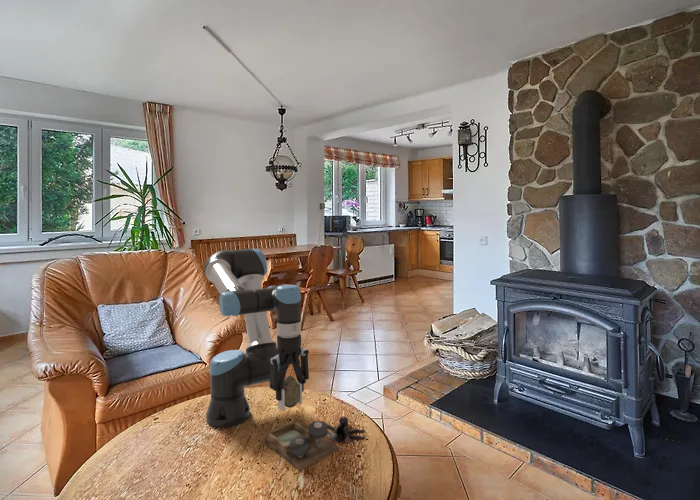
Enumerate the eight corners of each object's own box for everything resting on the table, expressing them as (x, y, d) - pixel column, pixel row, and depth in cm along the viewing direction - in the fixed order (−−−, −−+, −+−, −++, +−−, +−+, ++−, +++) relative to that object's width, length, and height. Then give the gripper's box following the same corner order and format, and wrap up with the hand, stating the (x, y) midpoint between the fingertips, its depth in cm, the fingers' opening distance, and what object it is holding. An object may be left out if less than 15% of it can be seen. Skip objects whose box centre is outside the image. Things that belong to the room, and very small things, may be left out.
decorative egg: (283, 412, 122) (282, 381, 121) (279, 404, 127) (278, 374, 126) (302, 409, 124) (301, 378, 123) (297, 401, 129) (296, 371, 129)
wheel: (304, 432, 123) (304, 424, 122) (319, 425, 127) (319, 417, 126) (316, 440, 118) (316, 431, 118) (331, 433, 122) (331, 424, 122)
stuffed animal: (364, 442, 126) (333, 419, 127) (347, 464, 127) (317, 442, 128) (368, 422, 137) (340, 402, 138) (352, 443, 139) (324, 423, 140)
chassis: (262, 442, 128) (262, 424, 127) (300, 425, 138) (300, 408, 137) (299, 470, 113) (299, 450, 113) (338, 449, 123) (338, 431, 123)
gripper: (269, 344, 115) (271, 420, 116) (320, 331, 127) (320, 400, 129) (256, 338, 120) (257, 411, 122) (306, 326, 133) (307, 393, 135)
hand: (290, 405), depth 126 cm, fingers closed on decorative egg, 6 cm apart
